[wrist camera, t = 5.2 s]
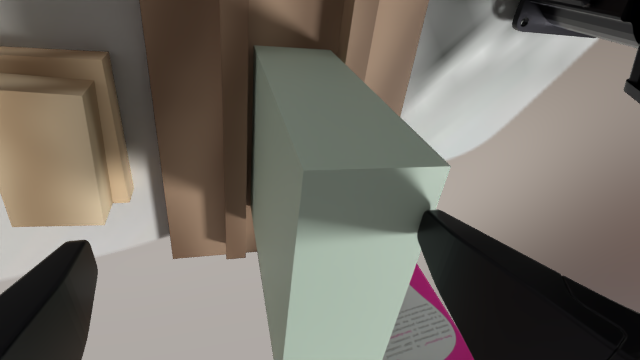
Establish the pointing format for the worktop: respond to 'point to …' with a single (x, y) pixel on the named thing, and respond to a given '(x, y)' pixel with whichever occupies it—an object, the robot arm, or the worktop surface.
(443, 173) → the sage green block
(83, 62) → the offcut lower
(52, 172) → the offcut upper
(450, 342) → the supplement box
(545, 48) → the worktop surface
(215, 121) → the rack
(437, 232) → the robot arm
